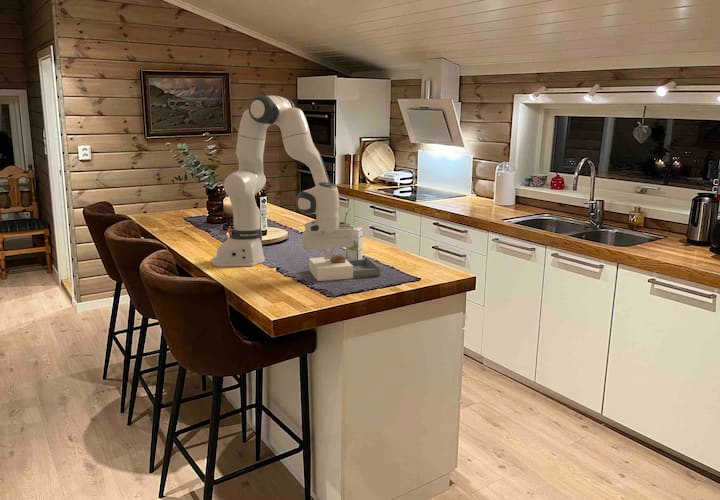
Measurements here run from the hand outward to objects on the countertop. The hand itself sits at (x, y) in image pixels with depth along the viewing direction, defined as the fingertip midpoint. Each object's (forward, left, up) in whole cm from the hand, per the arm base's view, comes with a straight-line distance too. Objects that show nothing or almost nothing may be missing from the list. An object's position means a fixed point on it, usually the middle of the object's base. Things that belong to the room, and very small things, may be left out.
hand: (328, 259), depth 237 cm
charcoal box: (+14, 0, -6) cm, 15 cm away
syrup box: (+16, +18, -7) cm, 25 cm away
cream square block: (+1, 0, -6) cm, 6 cm away
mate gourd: (+22, +61, -7) cm, 65 cm away
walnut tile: (+4, 0, -1) cm, 4 cm away
